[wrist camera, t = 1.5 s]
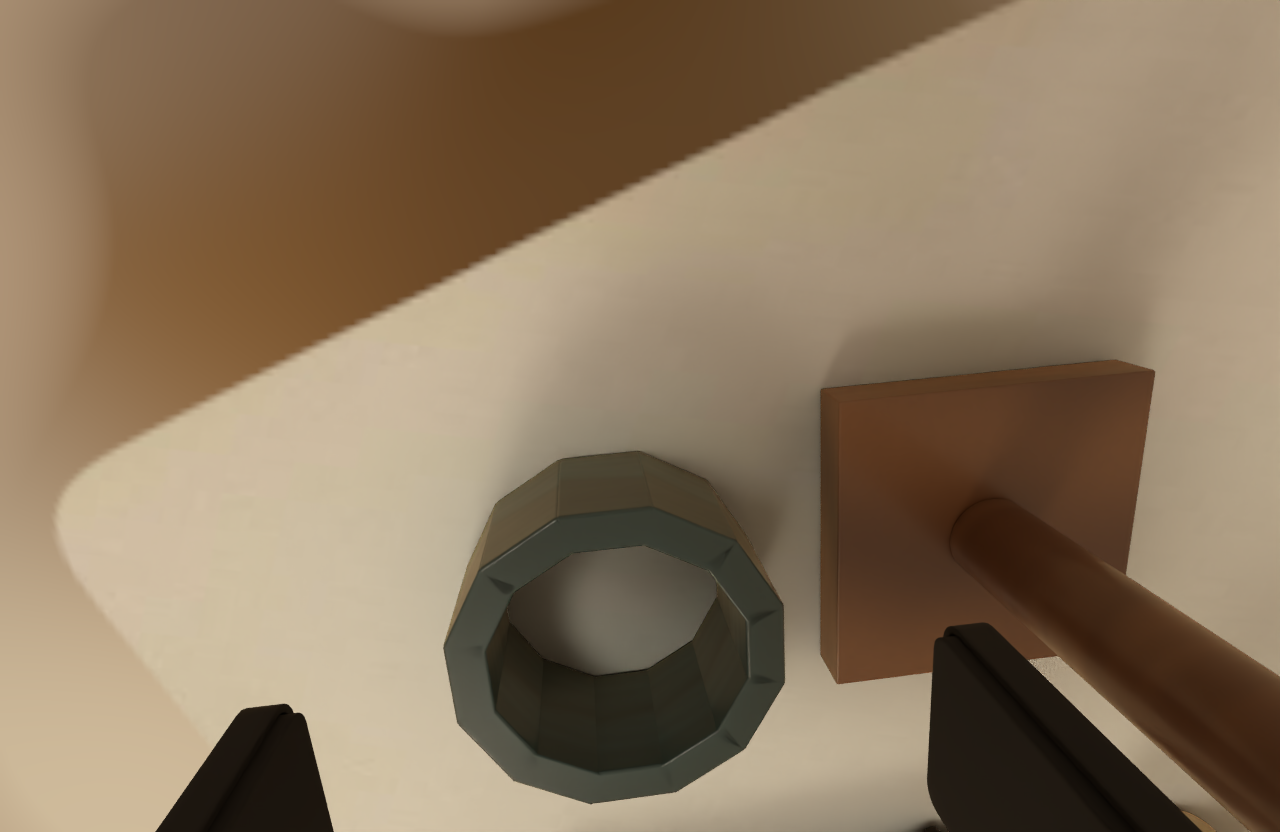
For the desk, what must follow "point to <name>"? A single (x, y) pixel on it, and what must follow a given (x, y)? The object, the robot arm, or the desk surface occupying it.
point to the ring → (628, 702)
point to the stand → (1029, 557)
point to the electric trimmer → (932, 829)
